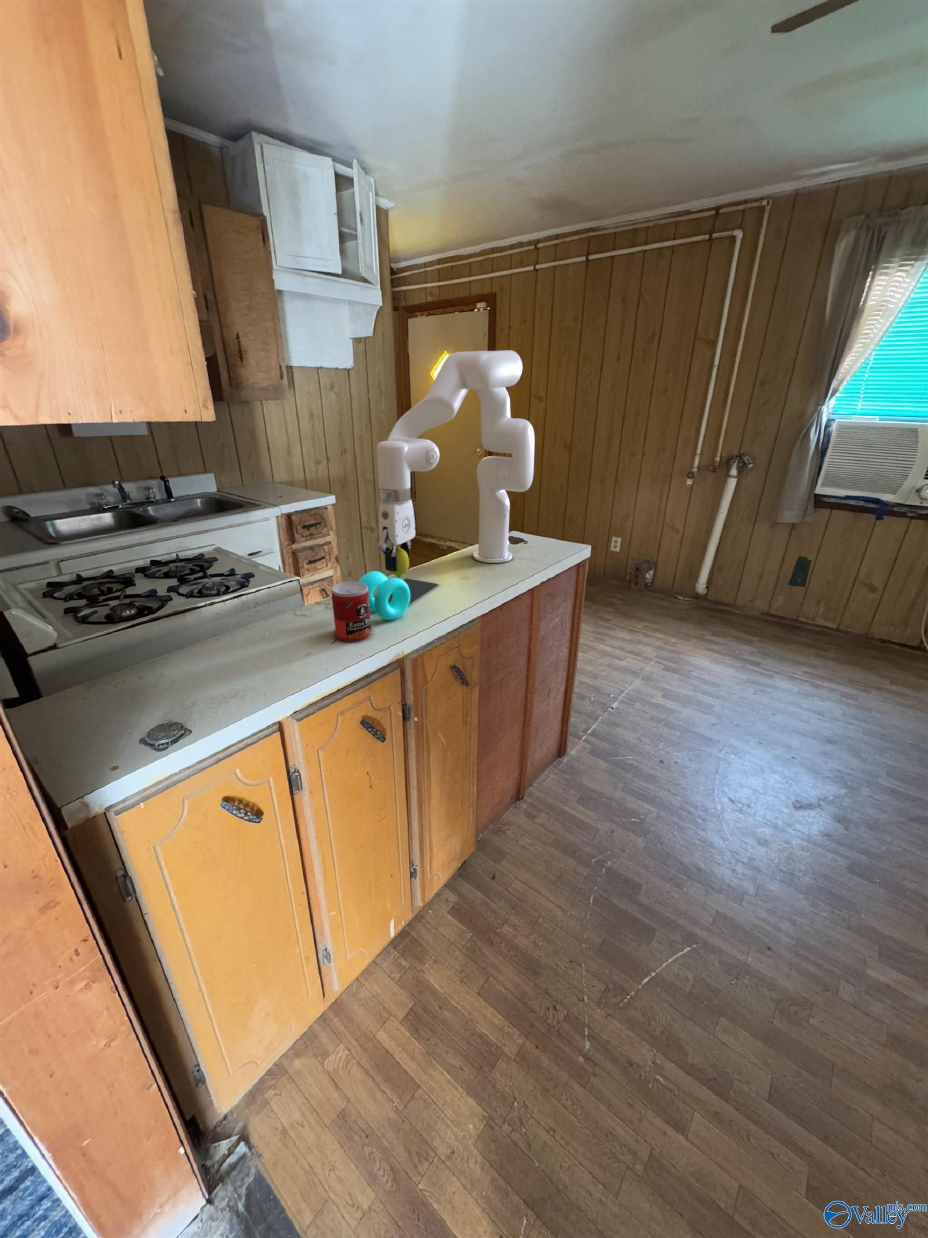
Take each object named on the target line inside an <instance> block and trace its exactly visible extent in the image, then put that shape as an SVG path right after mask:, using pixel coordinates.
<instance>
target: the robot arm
mask: <svg viewBox="0 0 928 1238" xmlns="http://www.w3.org/2000/svg"><path fill="white" fill-rule="evenodd" d="M522 373H523V361H522V359H521V356H520V355H519V354H518V353H517V352H516V351H515V350H511V349H510V350H509V349H507V350H505V349H503V350H474V351H473V350H472V351H470V350H469V351H457V352H453V353H450V355H448V356H447V357H446V359H445V360H444V362H443V364H442V366H441V367H440V369H439V371H438V372H437V375H436V377H435V379H434V381H433V382H432V384H431V386H430V388H429V389H428V392H427V393H426V395H425V397H424V398H423V399H422V400H420V401H418V403H416V404H415V405H414V406H412V407H411V408H410V409H409V410H407V411H406V412H405V413H404V414H403V415H402V416H400V418H399V419H398V420H397V421H396V422H395V424H394V426H393V428H392V429H391V431H390V433H389V435H388V437H387V439H386V440H383V441H380V442H378V443H377V446H376V458H377V461H376V462H377V477H378V478H377V479H378V494H379V495H378V496H379V509H378V510H379V511H378V514H379V515H378V535H379V540H378V543H377V547H378V548H379V549H380V551H381V552H382V554H383V556H384V566H385V567H384V568H385V570H386V571H389V572H390V571H394V572H396V571H397V556H395V552H396V547H397V546H399V548H401V549H403V550H404V551H405V552H406V553H407V555H408V558H409V565H411V549H412V541H413V539H414V538H415V537H416V520H415V511H414V505H413V501H412V491H411V489H412V487H411V472H423V473H424V472H429V471H431V470H433V469H435V467H436V466H437V465H438V463H439V461H440V450H439V448H438V446H437V445H436V443H434V442H433V441H432V440H430V439H426V438H419V437H420V436H421V435H422V434H423V433H425V432H427V431H428V430H431V429H433V428H436V427H439V426H441V425H444V424H446V423H448V422H450V421H451V420H453V419H454V418H455V416H456V415H457V413H458V411H459V409H460V407H461V405H462V403H463V401H464V399H465V397H466V395H467V394H468V391H469V390H474V391H475V392H476V395H477V397H478V399H479V404H480V437H481V438H480V439H481V444H482V445H481V446H482V447H483V448H484V449H485V450H486V451H488V452H492V453H493V452H494V453H501V454H502V453H503V454H511V457H508V456H497V455H490V456H485V457H484V458H482V459H481V460H480V461H479V462H478V464H477V467H476V478H477V486H478V493H479V495H478V499H479V503H478V504H479V508H478V545H477V546H478V549H477V550H476V551H474V552H473V559H474V560H476V561H478V562H481V563H488V564H501V563H506V562H507V563H508V562H510V561H512V559H513V553H512V552H510V551H509V545H510V541H509V530H510V528H509V527H510V510H511V504H510V498H509V496H508V493H507V492H509V491H510V492H516V493H523V492H527V490H529V489H530V487H531V486H532V483H533V479H534V474H535V473H534V472H535V445H536V443H535V439H536V438H535V431H534V428H533V425H532V424H531V422H530V421H529V420H527V419H525V418H515V417H511V416H512V415H511V399H510V395H509V392H508V390H507V388H509V387H512V386H515V385H516V384H517V383H518V382H519V381H520V378H521V376H522ZM390 547H391V548H390Z"/></svg>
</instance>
